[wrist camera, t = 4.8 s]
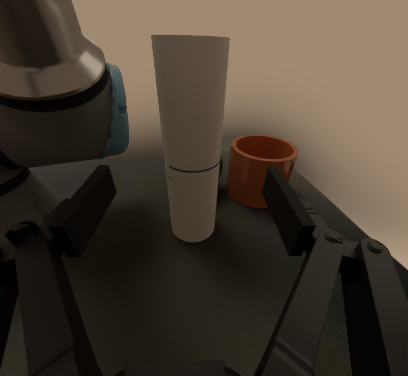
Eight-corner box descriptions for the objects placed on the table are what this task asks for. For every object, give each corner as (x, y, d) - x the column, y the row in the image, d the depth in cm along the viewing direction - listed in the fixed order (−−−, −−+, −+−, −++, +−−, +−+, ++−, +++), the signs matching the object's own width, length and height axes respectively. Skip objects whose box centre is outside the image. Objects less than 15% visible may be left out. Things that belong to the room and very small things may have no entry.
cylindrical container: (198, 250, 29) (200, 34, 14) (162, 228, 32) (133, 35, 17) (222, 221, 33) (242, 39, 19) (189, 205, 37) (184, 38, 22)
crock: (215, 189, 41) (218, 145, 35) (246, 170, 48) (253, 130, 42) (265, 217, 34) (279, 169, 29) (292, 190, 41) (308, 146, 35)
